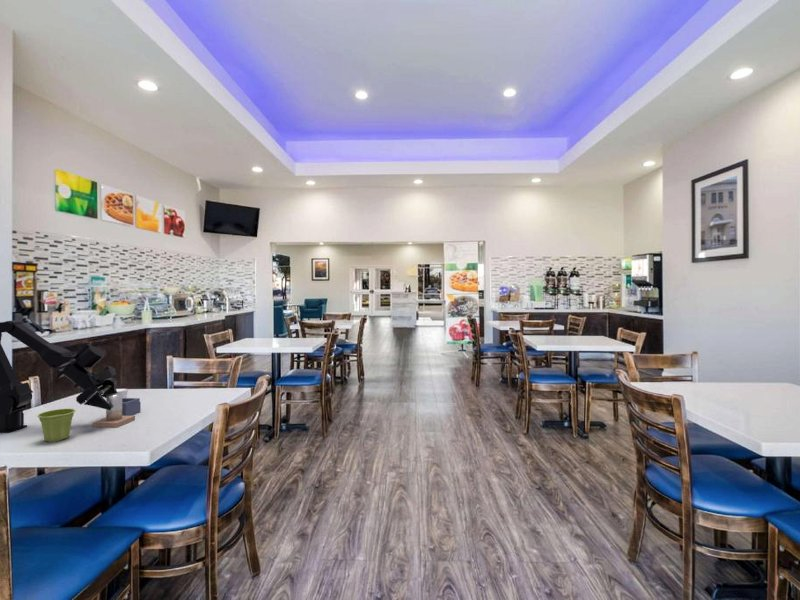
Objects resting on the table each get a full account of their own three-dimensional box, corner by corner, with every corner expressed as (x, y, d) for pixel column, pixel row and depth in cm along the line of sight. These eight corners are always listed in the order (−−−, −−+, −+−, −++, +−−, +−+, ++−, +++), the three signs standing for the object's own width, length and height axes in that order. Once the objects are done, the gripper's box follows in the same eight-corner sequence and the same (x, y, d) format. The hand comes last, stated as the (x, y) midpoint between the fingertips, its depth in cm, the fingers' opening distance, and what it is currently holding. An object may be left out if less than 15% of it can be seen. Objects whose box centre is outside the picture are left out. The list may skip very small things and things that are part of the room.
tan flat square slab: (116, 427, 144) (116, 423, 144) (92, 426, 145) (92, 422, 145) (135, 419, 153) (134, 415, 153) (112, 419, 154) (112, 415, 154)
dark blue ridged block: (125, 417, 156) (125, 403, 156) (106, 417, 156) (106, 402, 156) (140, 411, 164) (140, 398, 164) (121, 411, 164) (121, 397, 164)
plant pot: (73, 440, 131) (73, 413, 131) (34, 446, 126) (34, 418, 126) (77, 432, 139) (77, 407, 139) (41, 437, 134) (40, 411, 134)
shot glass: (116, 409, 167) (115, 392, 167) (104, 408, 170) (104, 391, 170) (131, 405, 174) (131, 388, 174) (120, 403, 176) (120, 387, 176)
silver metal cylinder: (111, 421, 146) (111, 396, 146) (103, 420, 148) (103, 395, 147) (125, 418, 150) (125, 393, 150) (116, 416, 152) (116, 392, 152)
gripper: (86, 364, 139) (123, 395, 141) (111, 356, 157) (143, 384, 159) (59, 388, 137) (97, 419, 139) (87, 378, 155) (120, 405, 157)
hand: (116, 405), depth 149 cm, fingers open, 9 cm apart
